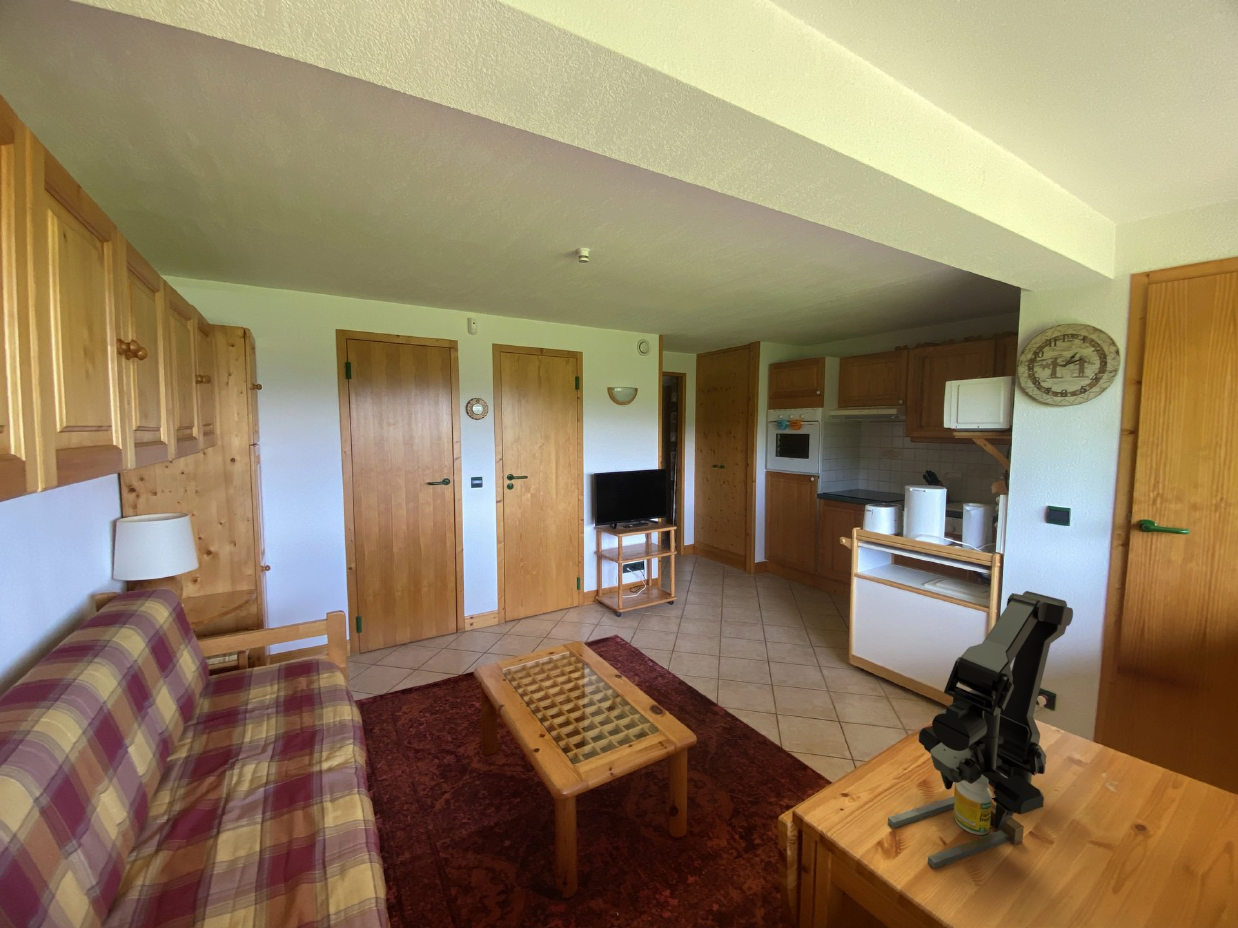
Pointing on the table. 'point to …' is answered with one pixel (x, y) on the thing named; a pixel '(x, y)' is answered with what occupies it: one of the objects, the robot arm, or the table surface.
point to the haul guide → (1006, 834)
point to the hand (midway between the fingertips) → (972, 807)
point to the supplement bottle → (973, 806)
